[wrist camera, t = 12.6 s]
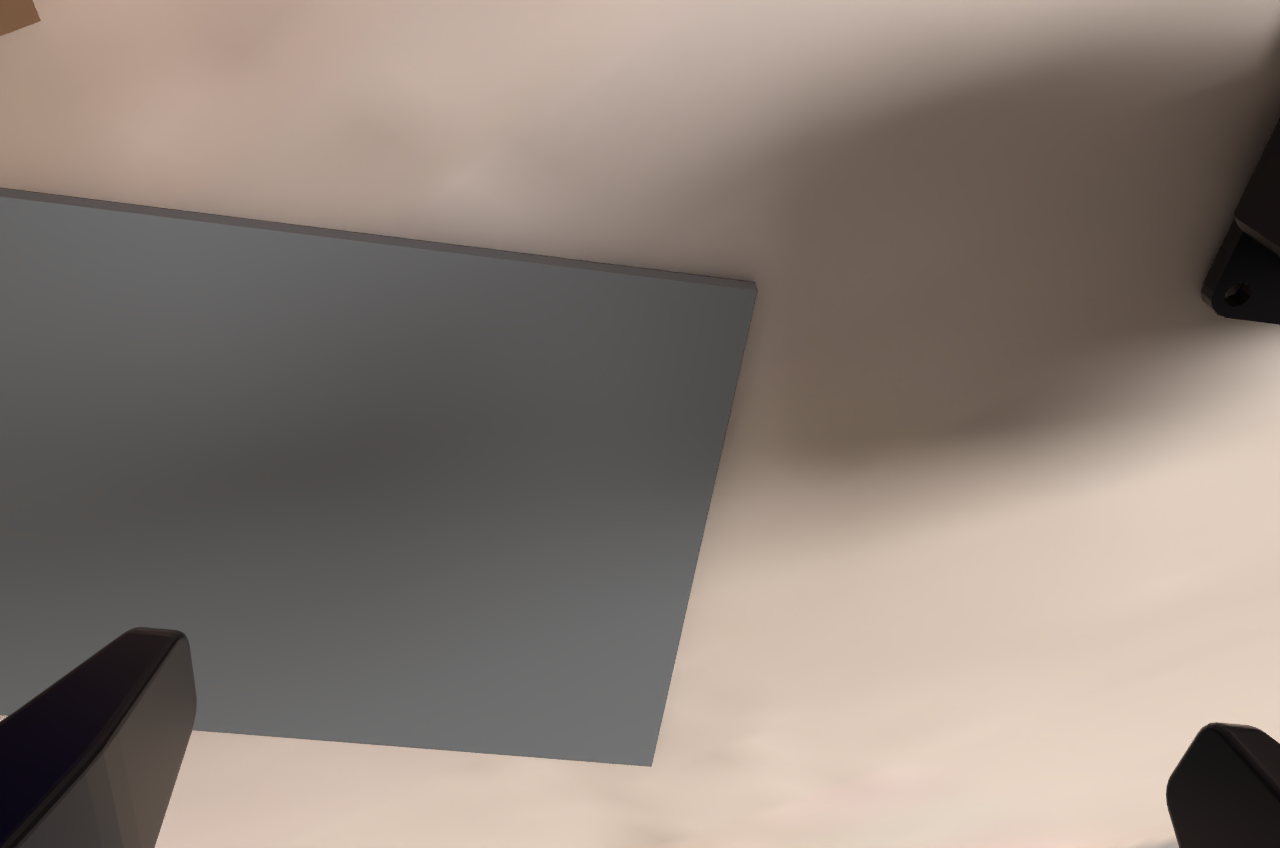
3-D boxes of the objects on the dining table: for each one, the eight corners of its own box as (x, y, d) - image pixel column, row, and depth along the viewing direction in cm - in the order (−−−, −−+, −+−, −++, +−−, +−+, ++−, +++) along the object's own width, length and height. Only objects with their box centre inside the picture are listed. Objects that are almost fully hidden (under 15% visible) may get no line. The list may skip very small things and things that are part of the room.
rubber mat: (755, 282, 20) (757, 290, 19) (651, 754, 27) (651, 766, 27) (-839, 82, 17) (-869, 88, 17) (-475, 663, 24) (-491, 675, 24)
